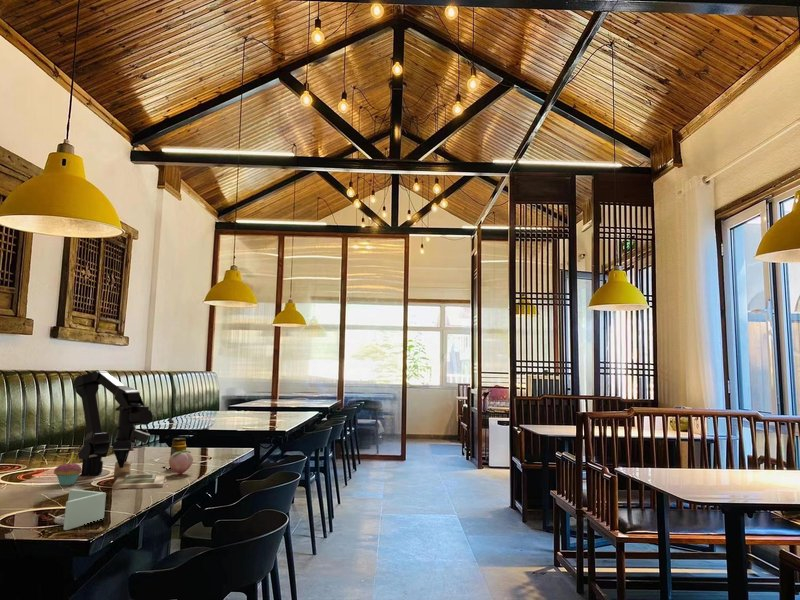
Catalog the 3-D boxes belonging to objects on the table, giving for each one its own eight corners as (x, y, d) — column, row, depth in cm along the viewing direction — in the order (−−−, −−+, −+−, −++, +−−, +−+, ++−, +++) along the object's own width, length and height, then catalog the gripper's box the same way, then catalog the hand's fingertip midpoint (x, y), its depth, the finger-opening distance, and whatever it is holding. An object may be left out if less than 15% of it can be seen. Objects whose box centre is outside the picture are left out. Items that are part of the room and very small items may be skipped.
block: (113, 480, 206) (115, 463, 207) (115, 478, 211) (116, 461, 211) (128, 480, 208) (129, 463, 208) (129, 477, 212) (131, 461, 213)
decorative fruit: (177, 471, 226) (178, 446, 227) (195, 473, 224) (197, 447, 226) (162, 475, 217) (164, 449, 218) (181, 477, 215) (183, 450, 217)
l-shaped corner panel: (69, 516, 157) (71, 489, 158) (103, 520, 154) (106, 492, 155) (30, 527, 146) (33, 497, 147) (66, 532, 143) (69, 501, 144)
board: (112, 489, 191) (112, 481, 192) (117, 480, 206) (118, 473, 206) (162, 486, 197) (163, 479, 197) (164, 478, 212) (165, 472, 212)
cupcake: (85, 483, 200) (89, 448, 201) (63, 487, 192) (66, 451, 194) (70, 480, 203) (73, 447, 205) (47, 484, 196) (50, 449, 197)
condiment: (188, 467, 236) (190, 438, 238) (168, 469, 230) (170, 440, 232) (181, 465, 241) (183, 437, 243) (161, 467, 236) (163, 438, 237)
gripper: (147, 425, 206) (144, 469, 204) (151, 421, 223) (147, 461, 221) (114, 425, 202) (110, 470, 200) (120, 421, 220) (116, 462, 218)
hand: (122, 465), depth 210 cm, fingers open, 9 cm apart
